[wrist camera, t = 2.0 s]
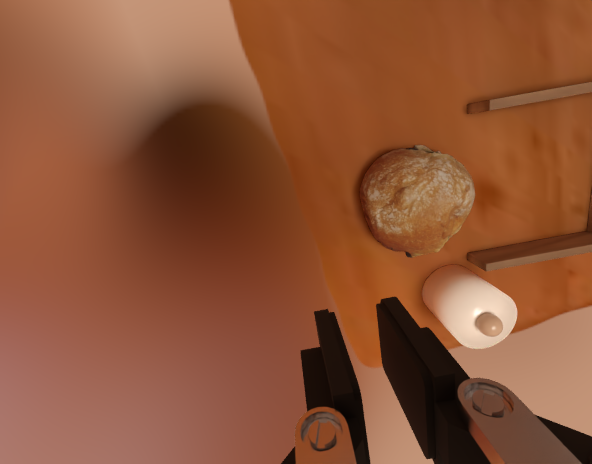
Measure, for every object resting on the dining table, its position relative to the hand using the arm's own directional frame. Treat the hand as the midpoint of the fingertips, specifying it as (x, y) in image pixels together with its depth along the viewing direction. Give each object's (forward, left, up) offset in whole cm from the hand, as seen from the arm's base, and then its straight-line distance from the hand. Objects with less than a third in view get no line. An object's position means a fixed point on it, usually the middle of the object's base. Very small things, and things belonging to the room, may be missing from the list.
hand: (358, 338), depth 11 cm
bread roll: (0, +10, -20) cm, 22 cm away
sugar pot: (+11, +14, -19) cm, 26 cm away
